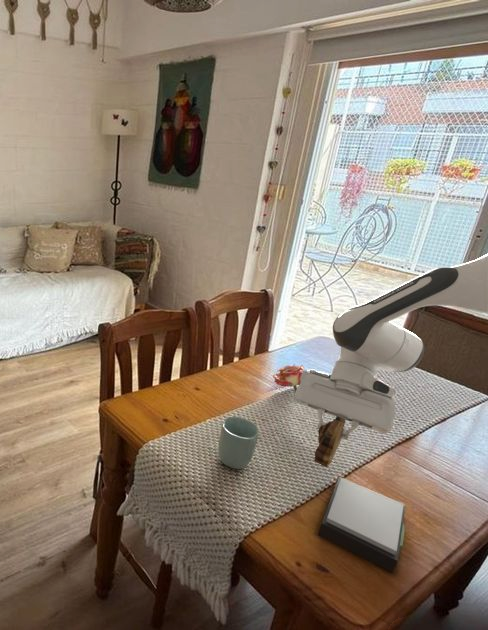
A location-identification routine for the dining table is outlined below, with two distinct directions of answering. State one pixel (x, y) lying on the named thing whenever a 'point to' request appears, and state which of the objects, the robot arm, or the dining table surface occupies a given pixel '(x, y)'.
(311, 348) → the dining table surface
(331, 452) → the wooden carving
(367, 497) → the kitchen scale
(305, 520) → the dining table surface
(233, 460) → the cup
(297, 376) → the flower
